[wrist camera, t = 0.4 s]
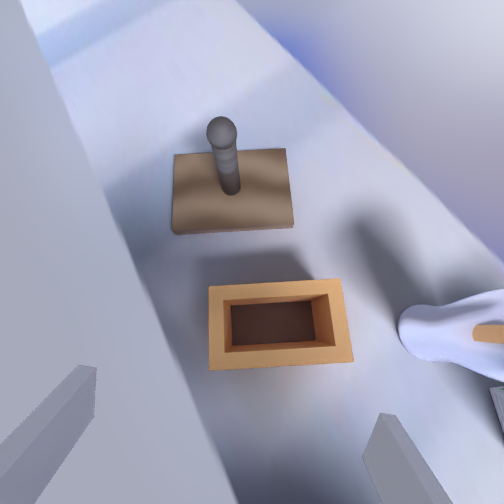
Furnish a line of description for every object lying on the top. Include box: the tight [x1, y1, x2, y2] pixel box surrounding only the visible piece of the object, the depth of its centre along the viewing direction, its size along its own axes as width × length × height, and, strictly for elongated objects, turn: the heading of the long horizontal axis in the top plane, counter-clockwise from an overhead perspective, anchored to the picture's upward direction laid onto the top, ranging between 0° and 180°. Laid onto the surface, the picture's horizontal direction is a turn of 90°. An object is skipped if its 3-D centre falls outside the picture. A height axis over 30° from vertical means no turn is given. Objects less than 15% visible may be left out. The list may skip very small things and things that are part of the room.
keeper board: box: [172, 116, 294, 235], centre depth 27 cm, size 11×15×12 cm
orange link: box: [209, 278, 354, 371], centre depth 24 cm, size 12×7×7 cm, turn 93°
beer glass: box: [398, 288, 504, 383], centre depth 20 cm, size 7×7×15 cm
